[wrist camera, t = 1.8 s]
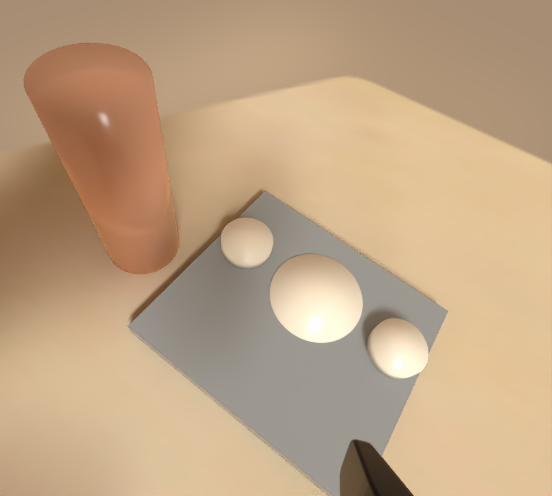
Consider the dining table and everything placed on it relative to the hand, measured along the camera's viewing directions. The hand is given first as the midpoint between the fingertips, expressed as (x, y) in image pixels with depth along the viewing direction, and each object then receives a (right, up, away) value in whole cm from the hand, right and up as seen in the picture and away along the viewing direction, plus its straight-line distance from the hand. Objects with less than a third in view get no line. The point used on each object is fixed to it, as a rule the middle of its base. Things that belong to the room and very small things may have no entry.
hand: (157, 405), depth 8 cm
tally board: (+4, -1, +16) cm, 17 cm away
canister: (-7, +4, +17) cm, 19 cm away
